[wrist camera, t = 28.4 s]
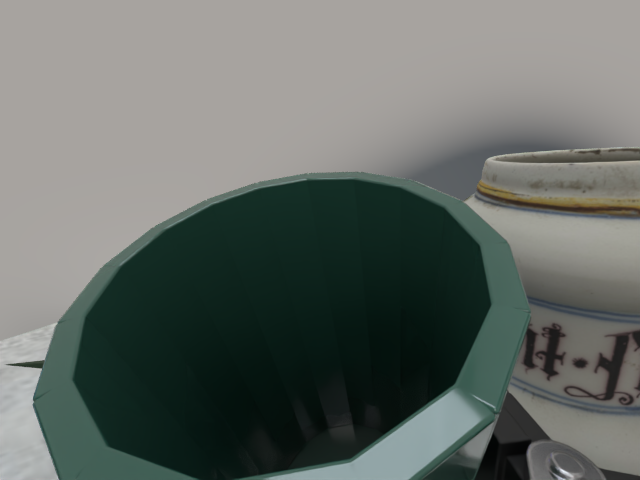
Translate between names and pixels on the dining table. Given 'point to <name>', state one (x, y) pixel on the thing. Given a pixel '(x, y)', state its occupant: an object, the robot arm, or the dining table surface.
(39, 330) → the dining table surface
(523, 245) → the apothecary jar
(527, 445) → the robot arm
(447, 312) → the tumbler
